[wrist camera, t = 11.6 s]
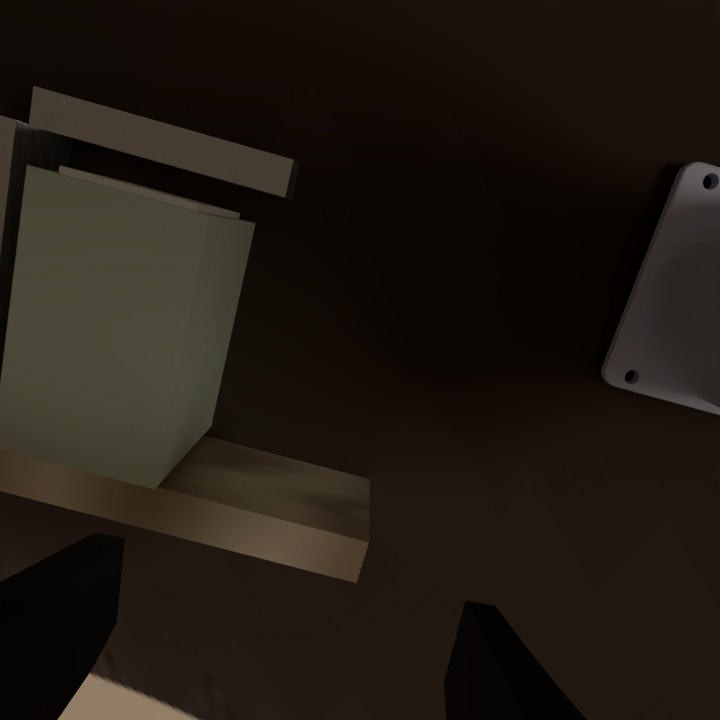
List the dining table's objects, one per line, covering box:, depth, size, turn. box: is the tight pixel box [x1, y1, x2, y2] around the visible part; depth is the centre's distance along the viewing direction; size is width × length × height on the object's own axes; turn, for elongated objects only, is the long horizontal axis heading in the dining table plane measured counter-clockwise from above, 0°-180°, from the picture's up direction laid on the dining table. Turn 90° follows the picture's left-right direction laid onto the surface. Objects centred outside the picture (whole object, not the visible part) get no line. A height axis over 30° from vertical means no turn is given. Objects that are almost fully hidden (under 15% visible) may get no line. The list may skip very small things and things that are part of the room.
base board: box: [0, 435, 370, 583], centre depth 19 cm, size 14×2×4 cm, turn 75°
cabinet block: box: [0, 165, 255, 489], centre depth 17 cm, size 5×8×6 cm, turn 165°
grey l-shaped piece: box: [0, 86, 300, 382], centre depth 18 cm, size 8×11×3 cm
